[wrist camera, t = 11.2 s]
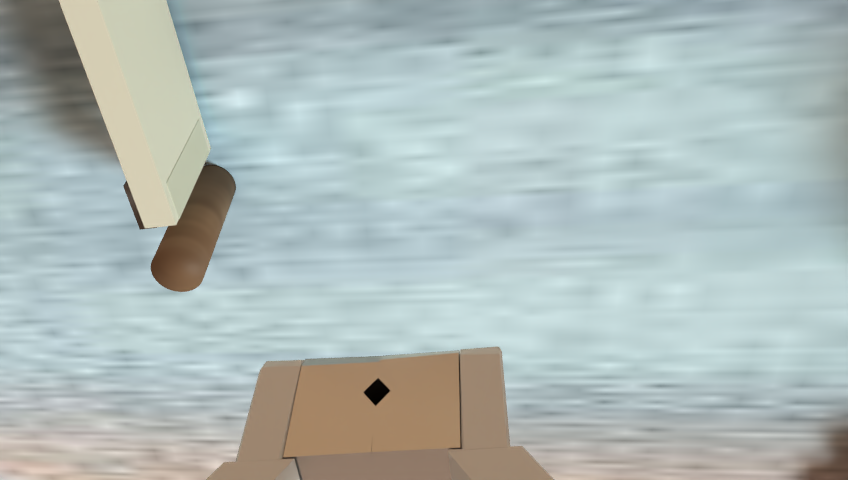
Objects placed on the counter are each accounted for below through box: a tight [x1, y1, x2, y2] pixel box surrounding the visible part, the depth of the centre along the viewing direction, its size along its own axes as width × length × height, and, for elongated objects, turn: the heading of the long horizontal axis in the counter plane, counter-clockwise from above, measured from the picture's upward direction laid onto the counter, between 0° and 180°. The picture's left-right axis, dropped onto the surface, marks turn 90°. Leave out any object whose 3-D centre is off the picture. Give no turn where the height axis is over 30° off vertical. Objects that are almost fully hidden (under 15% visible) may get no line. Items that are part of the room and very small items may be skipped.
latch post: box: [124, 165, 236, 292], centre depth 33 cm, size 4×3×6 cm, turn 7°
